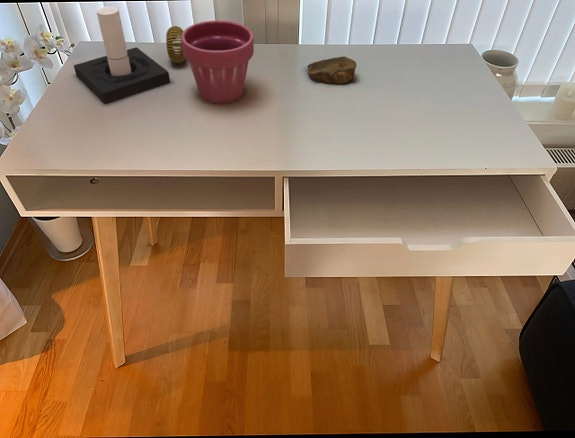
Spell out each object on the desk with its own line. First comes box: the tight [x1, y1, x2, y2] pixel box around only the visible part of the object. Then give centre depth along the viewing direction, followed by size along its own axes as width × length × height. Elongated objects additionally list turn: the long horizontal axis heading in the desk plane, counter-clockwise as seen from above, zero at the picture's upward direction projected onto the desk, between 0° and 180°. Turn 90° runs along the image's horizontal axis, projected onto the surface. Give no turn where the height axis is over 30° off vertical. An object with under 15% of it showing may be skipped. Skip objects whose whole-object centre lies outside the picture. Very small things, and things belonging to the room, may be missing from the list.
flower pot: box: [181, 20, 255, 104], centre depth 104 cm, size 14×14×13 cm
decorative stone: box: [306, 55, 357, 85], centre depth 114 cm, size 10×9×4 cm
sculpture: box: [165, 25, 186, 64], centre depth 116 cm, size 8×4×8 cm, turn 6°
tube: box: [95, 5, 132, 76], centre depth 107 cm, size 4×4×15 cm
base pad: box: [73, 46, 171, 105], centre depth 111 cm, size 15×15×2 cm
